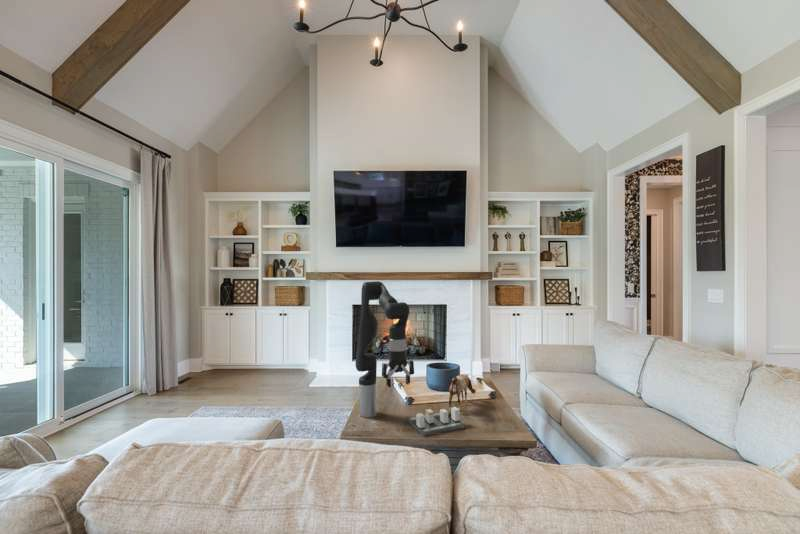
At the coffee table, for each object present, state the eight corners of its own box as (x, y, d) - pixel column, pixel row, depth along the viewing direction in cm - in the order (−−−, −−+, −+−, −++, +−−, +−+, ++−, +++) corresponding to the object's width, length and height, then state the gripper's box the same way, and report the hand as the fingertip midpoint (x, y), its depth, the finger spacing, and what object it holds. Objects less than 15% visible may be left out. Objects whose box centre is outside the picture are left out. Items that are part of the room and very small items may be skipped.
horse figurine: (456, 418, 212) (455, 379, 211) (442, 416, 216) (441, 377, 215) (476, 399, 239) (476, 365, 238) (464, 397, 242) (464, 363, 242)
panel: (407, 422, 209) (407, 418, 209) (446, 414, 217) (446, 411, 217) (422, 436, 192) (422, 432, 192) (464, 428, 200) (464, 423, 200)
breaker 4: (451, 418, 207) (451, 407, 207) (455, 417, 208) (455, 406, 207) (455, 421, 203) (455, 410, 203) (459, 420, 204) (459, 409, 204)
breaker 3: (440, 420, 204) (439, 409, 204) (444, 419, 205) (444, 408, 205) (443, 423, 201) (443, 412, 200) (448, 422, 202) (448, 411, 201)
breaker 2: (425, 420, 205) (425, 409, 204) (430, 419, 206) (430, 408, 205) (429, 423, 201) (429, 412, 201) (433, 422, 202) (433, 411, 202)
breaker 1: (416, 425, 199) (416, 413, 199) (421, 424, 200) (420, 413, 200) (419, 428, 196) (419, 416, 196) (424, 427, 197) (424, 416, 196)
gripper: (409, 345, 182) (409, 380, 183) (379, 348, 177) (380, 385, 178) (416, 348, 175) (416, 385, 176) (385, 352, 170) (385, 390, 171)
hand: (398, 385), depth 177 cm, fingers open, 8 cm apart
